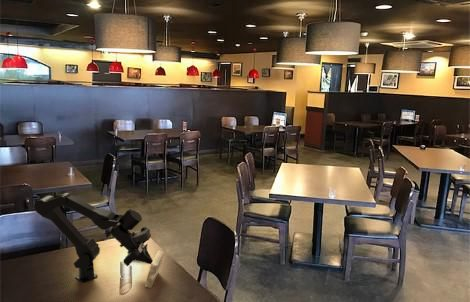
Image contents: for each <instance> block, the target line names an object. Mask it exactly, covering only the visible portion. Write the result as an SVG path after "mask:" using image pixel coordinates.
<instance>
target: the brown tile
mask: <svg viewBox="0 0 470 302" xmlns="http://www.w3.org/2000/svg"><path fill="white" fill-rule="evenodd" d="M164 254H165V251H163V250H157V252H156V254H155V256H154V258H153V259H152V260H153V261H152V263H151V264H150V265H149V270H148V274H147V277H146V281H145V285H144V287H146V288H149V289H151V288H152V287H153V284H154V283H155V281H156V279H157V277H158V274H159V272H160V268H161V264H162V261H163V258H164Z"/></svg>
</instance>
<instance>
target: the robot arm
mask: <svg viewBox="0 0 470 302" xmlns="http://www.w3.org/2000/svg"><path fill="white" fill-rule="evenodd" d="M61 206H64V207H66V208H68V209H69V210H70V209H71V210H72V211H74V212H77V213H78V214H80V215H82V216H84V217H86V218H87V219H90V220H91V222H92V223H93V225H95V226H96V227H97V228H99V229H100V230H102V231H105V233H106V234H105V238H109V237H110V236H112V237H113V238H114V240H116V241H117V242H118V243H120V244H119V247H120V248H124V249H125V250H127V252H126V253H127V255H126V256H125V257H124V259H123V264H124V265H125V266H126V267H128V266H129V265H130V264H132V263H133V262H134V261H138V262H142V263H145V264H148V265H151V263H152V261H153V260H154V259H153V258H152V256H151V255H150V253H149V251H148V245H149V244H148V243H146V242H147V241H149V240H150V239H151V237H152V235H151V233H150V232H151V229H149V228H148V227H147V226H142V227H141V228H140V231H139V232H137V234H136V233H135V232H136V231H132V230H133V229H134V228H136V226H138V225H139V224H140V223H141V222H142V220H143V218H142V214H140V213H139V212H138V211H136V210H133V209H131V208H128V209H127V211H125V213H124V214H119V213H115V212H113V211H111V210H108V209H104V208H97V207H95V206H93V205H91V204H89V203H87V201H83V200H81V199H79V198H78V197H76V196H74V195H73V194H71V192H70V193H69V192H65V193H62V194H57V195H54V196H53V195H45V196H44V197H41V198H40V199H38V200H37V201H36V202H34V206H33V207H34V208H33V209H34V211H35V212H36V213H37V214H38V215H39V216H41V217H42V218H45V219H46V220H49V221H51V222H52V223H53V224H54V226H55V227H56V228H57V229H58V230H59V231H60V232H61V234H62V235H64V237H66V239H67V240H68V241H69V242H70V243H71V244H72V245H73V247H74V249H75V253H76V255H77V257H78V259H76V260H75V261H74V263H73V266H74V268H75V269H77V270H78V274H76V275H75V276H74V277H75V279H77V280H79V281H80V282H82V283H86V282H88V281H90V280H92V279H95V278H97V277H98V274H96V273H95V268H94V260H96V259H97V257H98V256H99V254H100V253H101V248H100V247H99V246H100V244H99V243H97V242H96V241H95V239H94V238H93V237H92V238H90V239H88V238H86V237H85V236H84V235H83V234H82V233H81V232H80V231H79V230H78V229H77V228H76V226H75V225H74V224H73V223H72V222H71V221H70V220H69V219H68V218H67V217H66V215H65V214H64V212H62V208H61ZM131 231H132V232H131ZM145 243H146V244H145ZM143 244H144V245H143Z"/></svg>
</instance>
